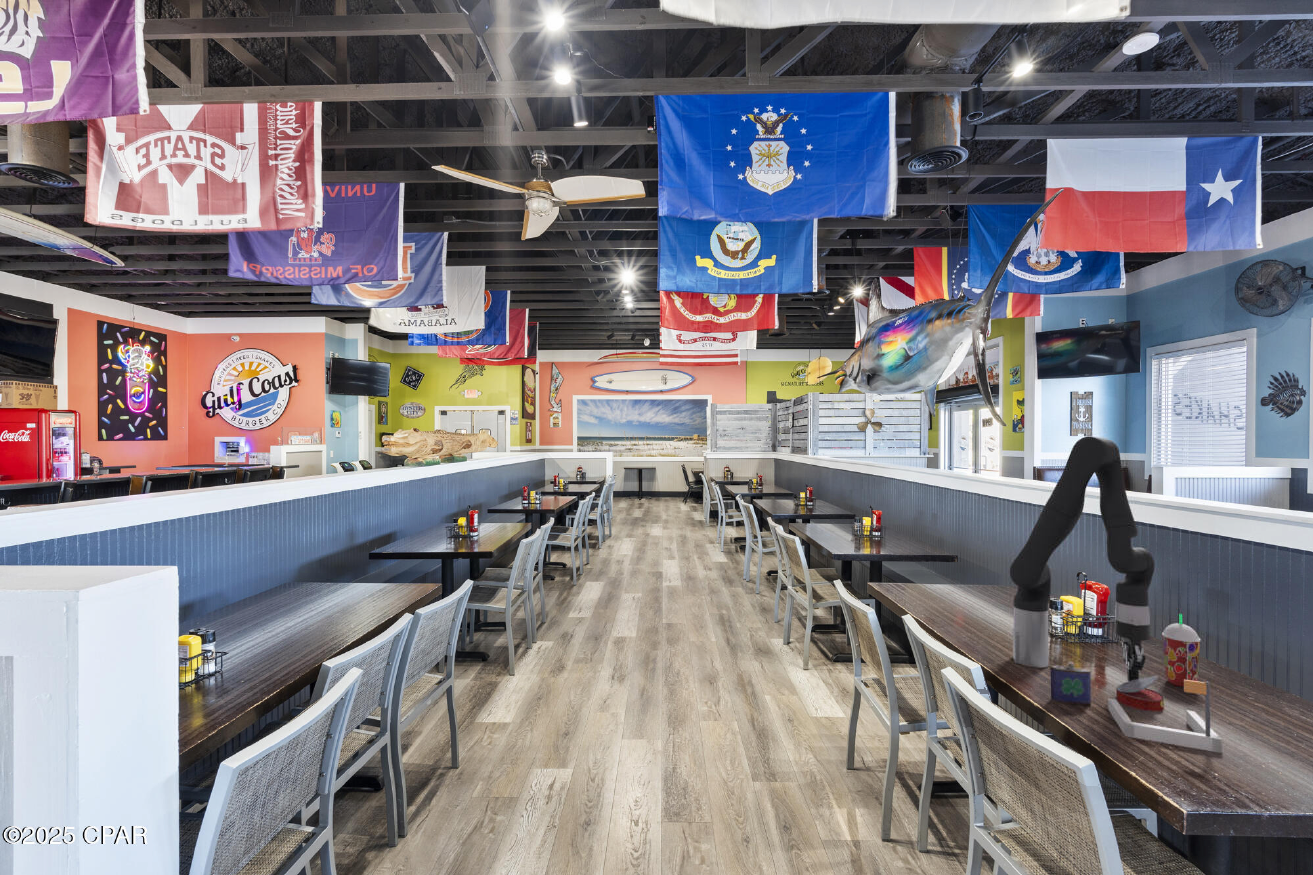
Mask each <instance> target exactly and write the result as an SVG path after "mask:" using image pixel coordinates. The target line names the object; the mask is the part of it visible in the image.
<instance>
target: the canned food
mask: <svg viewBox="0 0 1313 875" xmlns="http://www.w3.org/2000/svg"><path fill="white" fill-rule="evenodd" d="M1157 680H1159V676H1158V675H1152V676H1147V677H1142V678H1141V677H1139V679H1137V680H1131V681H1126V682H1123V683H1121V684H1119V685H1117V686H1116V688H1115V689H1116V695H1115V696H1116V700H1117V702H1118V703H1119V704H1122V705H1124V706H1126V707H1130V708H1133V709H1136V710H1141V711H1147V712H1161V711H1164V710H1165V697H1164V695H1163V694H1162V693H1160V692H1157V691H1156V690H1152V689H1150V688H1149V687H1151V685H1152V684H1153V683H1154V682H1155V681H1157Z"/></svg>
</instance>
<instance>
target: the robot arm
mask: <svg viewBox="0 0 1313 875" xmlns="http://www.w3.org/2000/svg"><path fill="white" fill-rule="evenodd" d="M1120 454H1121V452H1120V449H1119V446H1118V445H1117V444H1116V443H1115V442H1114V441H1113V440H1111V439H1109V438H1106V437H1105V438H1104V437H1101V436H1099V437H1098V436H1094V435H1090V436H1089V435H1088V436H1084V437H1081V438H1080V439H1078V440H1077V441H1076V442H1075V443H1074V445H1073V446H1072V448H1071V451H1070V453H1069V455H1068V458H1067V461H1066V463H1065V466H1064V468H1063V471H1062V473H1061V476H1060V477H1059V479H1058V480H1057V483H1056V485H1055V487H1054V488H1053V490H1052V492H1051V494H1050V496H1049V497H1048V499H1047V501H1046V503H1045V504H1044V506H1043V508H1042V510H1041V512H1040V515H1039V516H1038V519H1037V520H1036V522H1035V524H1034V527H1033V528H1032V531H1031V533H1030V535H1029V537H1028V539H1027V542H1026V543H1025V545H1024V546H1023V548H1022V549H1021V550H1020V552H1019V553H1018V555H1017V556H1016V557H1015V559H1014V560H1013V562H1012V563H1011V565H1010V567H1009V577H1010V579H1011V581H1012V583H1013V584H1014V585H1016V586H1017V590H1016V594H1015V595H1014V598H1013V628H1012V658H1013V661H1014V663H1015V664H1019V665H1022V666H1026V667H1030V668H1032V667H1033V668H1041V669H1042V668H1047V667H1049V603H1050V600H1051V586H1052V585H1051V583H1052V577H1051V576H1052V574H1051V569H1050V566H1049V565H1048V561H1049V559H1050V558H1051V556H1052V554H1053V553H1054V552H1055V551H1056V550H1057V549H1058V547H1059V546H1060V545H1062V543H1063V542H1064V541H1065V540H1066V539H1067V538H1068V536H1069V535H1070V534H1071V533H1072V532H1073V530H1074V528H1075V527H1076V525H1077V523H1078V522H1079V519H1080V518H1081V516H1082V514H1083V511H1084V507H1085V498H1086V490H1087V487H1088V484H1089V482H1090V481H1091V479H1092V478H1093V476H1094V474H1095V476H1096V478H1097V481H1098V486H1099V512H1100V516H1101V519H1102V523H1103V526H1104V529H1105V532H1106V550H1107V551H1106V555H1107V560H1108V563H1109V565H1110V567H1111V568H1112V569H1113V570H1114V571H1116V572H1118V573H1120V574H1123V575H1125V576H1124V578H1123V579H1122V580H1120V581H1117V583H1116V585H1115V607H1114V628H1115V629H1114V632H1115V634H1116V635H1117V636H1118V637H1120V638H1123V641H1121V642H1120V646H1121V652H1122V658H1123V662H1124V664H1125V667H1126V669H1127V670H1126V673H1127V676H1126V677H1127V682H1129V681H1131V680H1137V679H1140V676H1139V673H1140V671H1143V668H1144V665H1145V662H1146V658H1147V657H1146V656H1145V655H1144V646H1143V645H1142V642H1144V641H1150V639H1151V621H1150V620H1151V618H1150V616H1151V614H1150V609H1149V588H1150V586H1151V582H1152V579H1153V577H1154V573H1155V572H1154V571H1155V560H1154V557H1153V555H1152V553H1151V552H1150V551H1149V550H1147V549H1145V548H1143V547H1137V546H1136V547H1132V539H1134V538H1136V537H1137V536H1138V535H1139V530H1138V528H1137V525H1136V522H1135V518H1134V514H1133V513H1132V509H1131V506H1130V503H1129V500H1128V499H1129V498H1128V496H1127V492H1126V488H1125V482H1124V476H1123V469H1122V461H1121V460H1122V459H1121V455H1120Z"/></svg>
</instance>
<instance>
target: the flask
mask: <svg viewBox="0 0 1313 875" xmlns="http://www.w3.org/2000/svg"><path fill="white" fill-rule="evenodd" d="M1075 665H1076V664H1074V662H1073V661H1069V662H1068V664H1067V665H1065V666H1064V665H1059V664H1056V665H1052V666H1050V668H1049V669H1050V700H1051V701H1052V702H1055V703H1058V704H1060V703H1061V704H1064V705H1065V704H1066V705H1076V706H1077V705H1079V706H1091V705H1092V691H1091V690H1092V688H1091V687H1092V686H1091V685H1092V684H1091V683H1092V682H1091V678H1092V677H1091V671H1090V670H1089V669H1088V668H1078V667H1075Z"/></svg>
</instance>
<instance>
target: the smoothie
mask: <svg viewBox="0 0 1313 875" xmlns="http://www.w3.org/2000/svg"><path fill="white" fill-rule="evenodd" d="M1178 616H1179V617H1178V618H1179V620H1178V622H1176V623H1171V624H1169V625H1167V626H1166V627H1165V629H1164V630H1163V632H1161V636H1162V637H1161V638H1162V645H1163V647H1162V648H1163V659H1164V668H1165V670H1164V671H1165V677H1166V678H1167V680H1168V682H1169V683H1171V684H1173V685H1175V686H1177V687H1182V688H1184V680H1191V681H1198V680H1199V679H1198V678H1199V668H1200V666H1199V665H1200V650H1201V639H1202V638H1200V636H1199V635H1198V633H1197V631H1195V630H1194V628H1192V627H1190V626H1189V625H1187V624H1184V623H1183V614H1182V613H1179V614H1178Z"/></svg>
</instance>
